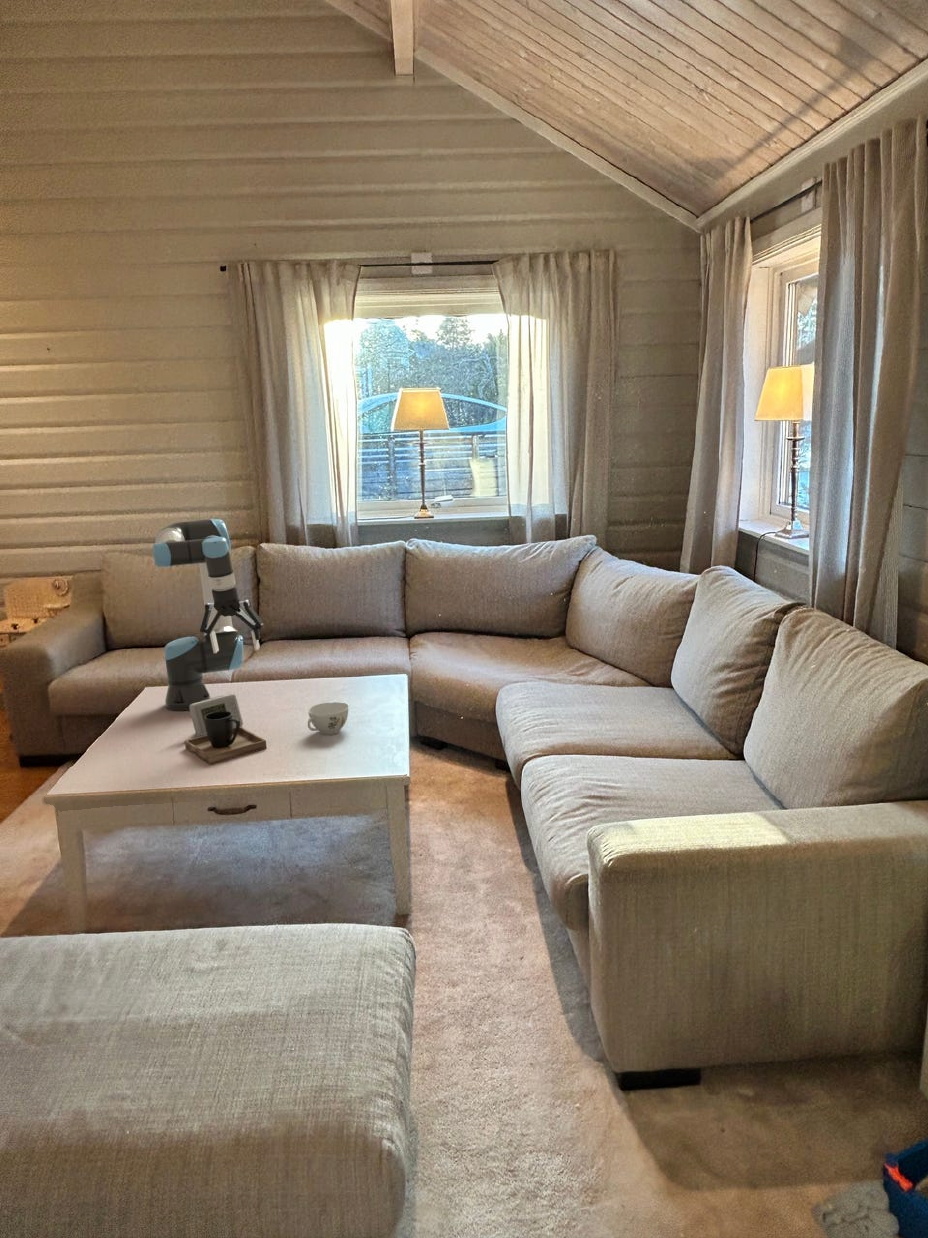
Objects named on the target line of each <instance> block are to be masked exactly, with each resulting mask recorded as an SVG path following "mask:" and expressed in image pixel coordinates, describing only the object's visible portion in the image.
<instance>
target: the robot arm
mask: <svg viewBox="0 0 928 1238" xmlns="http://www.w3.org/2000/svg"><path fill="white" fill-rule="evenodd" d="M230 541H231V540H230V536H229V532H228V529H227V525H226V524H225V522H224V520H222V519H216V518H215V519H212V518H209V519H201V520H189V521H178V522H174V523H172V524H169V525H166V526H165V527H163V528H162V529H160V530H159V532H158V533H157V534H156V536H155V543H154V544H153V545H152V552H153V559H154V565H155V567H158V568H164V567H165V568H169V567H174V566H185V565H197V564H198V565H199V571H200V579H201V581H200V582H201V588H202V595H203V603H204V614H203V618H202V622H201V625H200V628H199V632H200V633H202V634H203V633H204V634H203V638H204V639H203V640H199V638H198V637H197V636H186V637H184V636H183V637H180V638H177V639H175V640H172V641H170V642H168V643H167V644H166V645H165V646H164V657H163V658H164V660H165V667H166V676H167V682H168V683H167V684H168V686H167V692H166V696H165V709H167V710H169V711H170V710H171V711H179V712H180V711H182V712H183V711H190V709H189V706H190V705H191V704H193V703H197V702H200V701H203V700H207V699H211V694H210V693H209V691H208V687H207V686H206V684H205V682H204V680H203V674H209V673H211V674H212V673H218V672H225V671H232V670H236V669H240V668H241V667H242V666H243V659H244V642H243V641H244V640H243V636H242V635H241V634H239V633H238V630H237V629H235V627H234V626H233V621H232V620H233V619H232V617H234V616H235V617H237V618H239V619H240V620H241V621H243V622H244V624H246V626H248V627H249V628H250V629H251V630H250V631H251V637H252V642H253V647H254V651H255V652H257V651H259V650H260V648H261V646H260V645H261V644H260V642H259V640H260V639H261V636H262V635H261V632H260V631H261V630H260V629H262V628H263V627H264V626H265V623H264V621H263V620H262V619H261V617H260V616H259V614H258V613H257V611H255V609H254V607H253V606H252V605H251V602H250V600H249V599H245V600H243V601H241V600H240V599H239V594H238V589H237V586H236V579H235V575H234V570H233V565H232V559H231V553H230V551H231V549H232V545H231V542H230ZM241 607H242V608H241ZM243 609H245V612H246V613H247V614H246V613H245V612H244V610H243Z"/></svg>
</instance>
